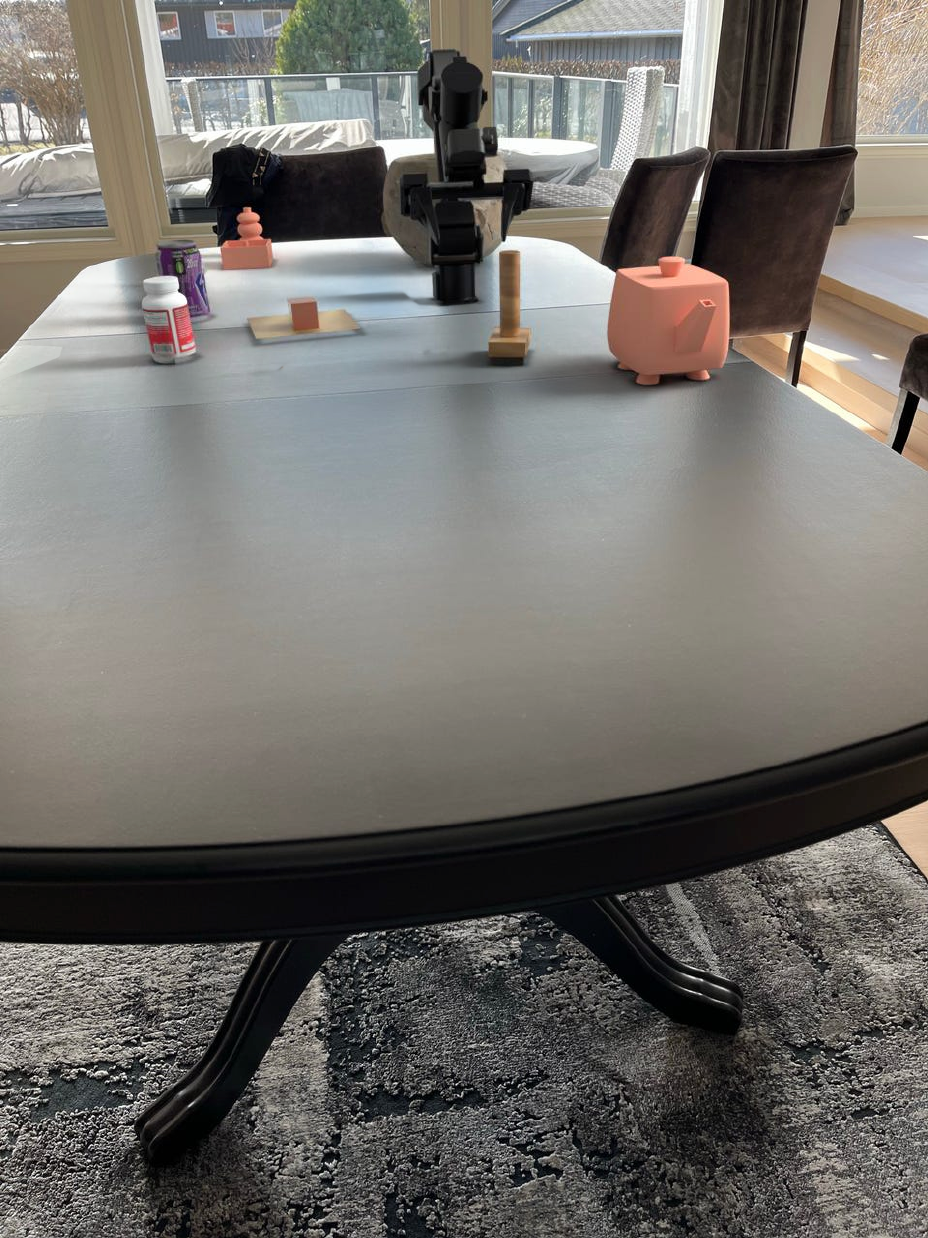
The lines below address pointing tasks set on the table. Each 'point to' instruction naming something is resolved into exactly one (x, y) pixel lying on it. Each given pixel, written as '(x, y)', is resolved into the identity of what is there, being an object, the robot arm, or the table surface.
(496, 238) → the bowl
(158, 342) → the pill bottle
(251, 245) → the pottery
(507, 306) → the wooden stamp
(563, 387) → the table surface
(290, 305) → the cube
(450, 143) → the robot arm
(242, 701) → the table surface
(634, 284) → the teapot
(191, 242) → the beverage can
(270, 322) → the board
